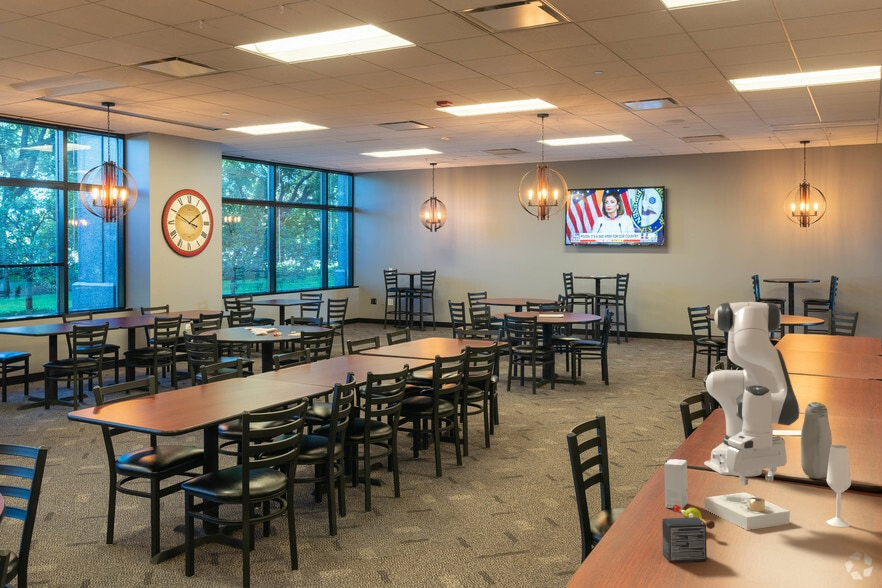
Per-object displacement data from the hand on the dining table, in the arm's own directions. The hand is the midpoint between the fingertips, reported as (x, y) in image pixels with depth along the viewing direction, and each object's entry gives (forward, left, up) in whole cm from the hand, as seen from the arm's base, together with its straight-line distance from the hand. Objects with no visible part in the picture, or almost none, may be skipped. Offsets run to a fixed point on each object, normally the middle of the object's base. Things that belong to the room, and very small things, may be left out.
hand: (756, 482), depth 239 cm
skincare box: (-22, -14, -13) cm, 29 cm away
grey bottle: (-30, +52, -13) cm, 61 cm away
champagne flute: (+10, +22, -13) cm, 27 cm away
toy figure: (-1, -23, -13) cm, 26 cm away
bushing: (0, 0, -12) cm, 12 cm away
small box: (+16, -38, -13) cm, 43 cm away
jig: (-5, 0, -12) cm, 13 cm away
